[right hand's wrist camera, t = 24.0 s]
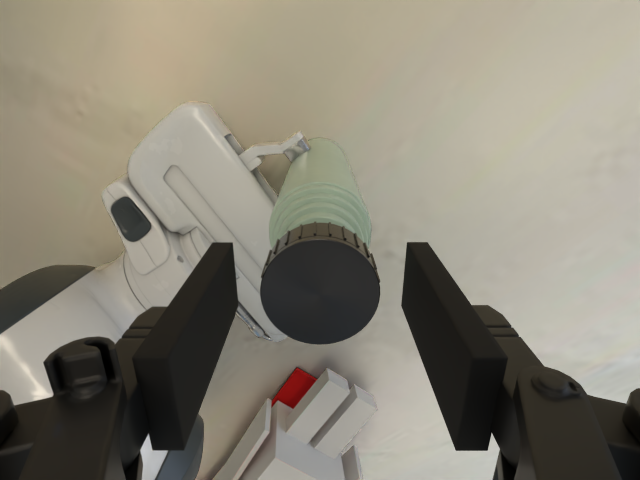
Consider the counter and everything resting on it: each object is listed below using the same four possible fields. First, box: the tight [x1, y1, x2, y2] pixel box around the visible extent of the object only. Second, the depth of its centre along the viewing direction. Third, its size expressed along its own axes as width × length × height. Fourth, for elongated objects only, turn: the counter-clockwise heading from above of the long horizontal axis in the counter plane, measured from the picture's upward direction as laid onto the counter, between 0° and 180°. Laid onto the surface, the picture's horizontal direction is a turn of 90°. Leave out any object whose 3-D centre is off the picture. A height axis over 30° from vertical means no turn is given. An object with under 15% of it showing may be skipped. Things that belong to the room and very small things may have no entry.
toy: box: [212, 368, 378, 480], centre depth 43 cm, size 12×13×30 cm
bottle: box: [269, 138, 371, 249], centre depth 25 cm, size 5×5×23 cm
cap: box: [260, 222, 380, 344], centre depth 14 cm, size 4×4×2 cm
